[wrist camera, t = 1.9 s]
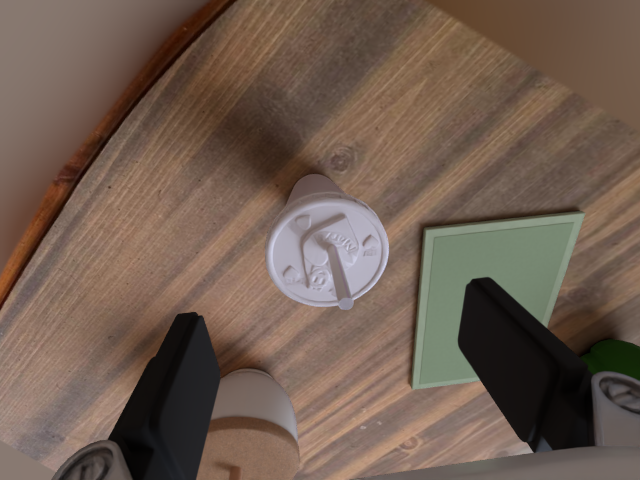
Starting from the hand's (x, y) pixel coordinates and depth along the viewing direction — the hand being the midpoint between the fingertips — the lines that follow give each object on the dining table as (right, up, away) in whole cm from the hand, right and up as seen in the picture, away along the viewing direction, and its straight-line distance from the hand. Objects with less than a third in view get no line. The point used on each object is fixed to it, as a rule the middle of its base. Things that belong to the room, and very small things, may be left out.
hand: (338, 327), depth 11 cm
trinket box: (-8, -13, +22) cm, 27 cm away
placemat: (+16, -4, +20) cm, 26 cm away
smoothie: (-1, +7, +13) cm, 15 cm away
